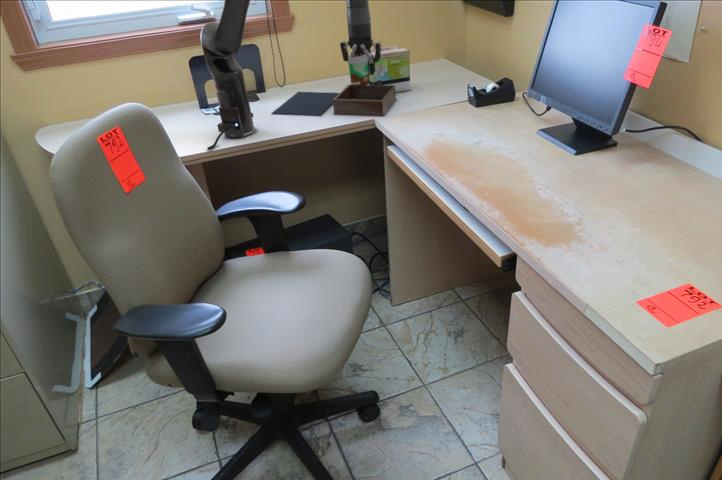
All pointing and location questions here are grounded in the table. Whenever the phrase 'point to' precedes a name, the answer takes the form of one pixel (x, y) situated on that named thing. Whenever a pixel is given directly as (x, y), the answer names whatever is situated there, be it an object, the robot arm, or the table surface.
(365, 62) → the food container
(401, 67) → the tea box
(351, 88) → the crate
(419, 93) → the table surface
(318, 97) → the desk mat
